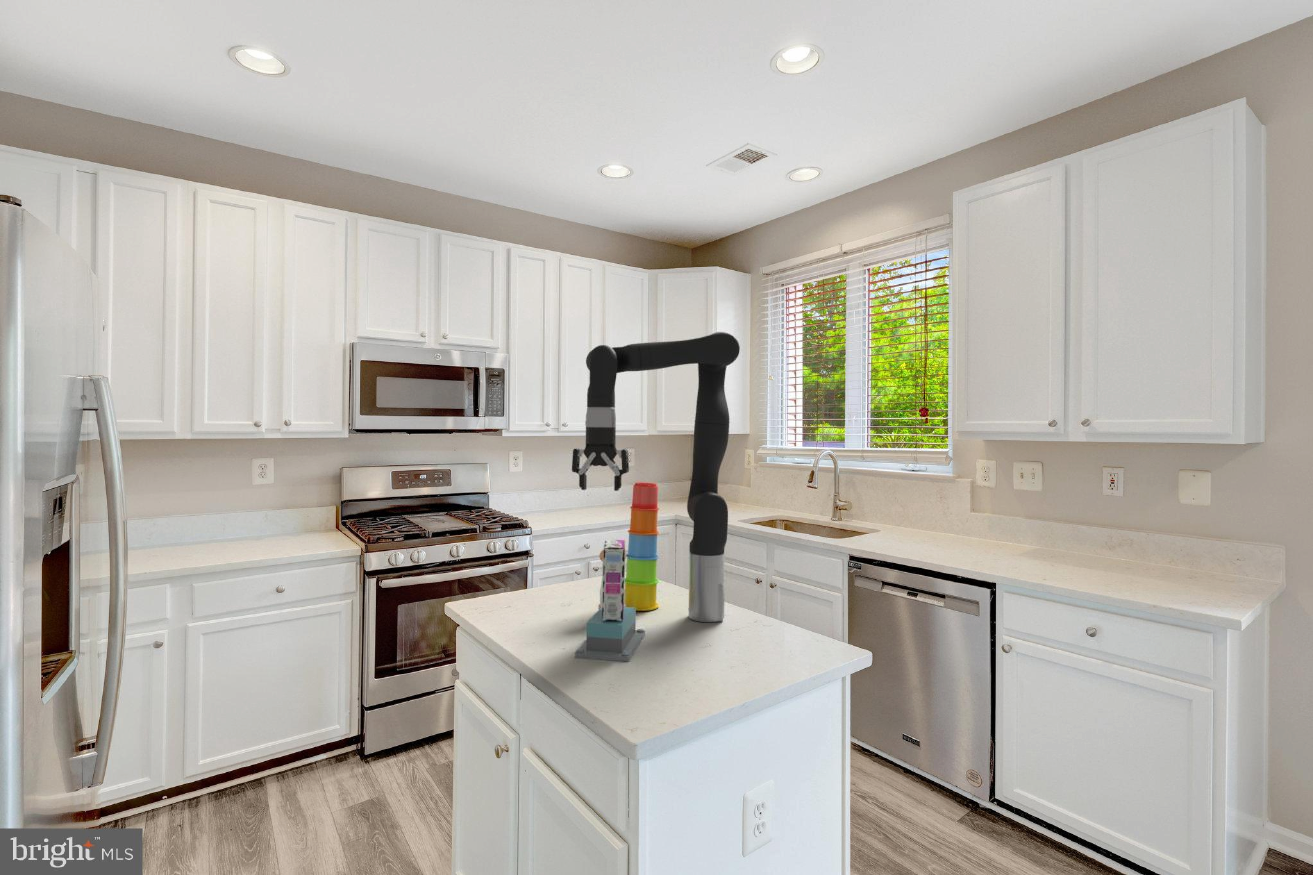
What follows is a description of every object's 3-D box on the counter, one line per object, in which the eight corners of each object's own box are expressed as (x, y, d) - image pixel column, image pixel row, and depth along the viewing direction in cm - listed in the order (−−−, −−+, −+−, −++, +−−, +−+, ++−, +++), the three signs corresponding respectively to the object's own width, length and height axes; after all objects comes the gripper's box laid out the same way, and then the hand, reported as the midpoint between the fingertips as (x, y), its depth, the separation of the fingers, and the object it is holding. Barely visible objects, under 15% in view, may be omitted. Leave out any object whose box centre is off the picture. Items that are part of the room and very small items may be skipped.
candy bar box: (624, 622, 138) (625, 547, 138) (601, 622, 138) (602, 547, 137) (624, 607, 149) (625, 539, 149) (603, 607, 149) (604, 538, 149)
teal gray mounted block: (645, 634, 151) (645, 605, 151) (628, 661, 133) (629, 628, 133) (597, 631, 153) (597, 602, 153) (574, 657, 136) (575, 625, 136)
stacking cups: (620, 602, 179) (622, 481, 179) (656, 601, 181) (657, 481, 180) (622, 612, 169) (624, 484, 169) (660, 611, 170) (662, 484, 170)
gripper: (631, 426, 160) (630, 489, 160) (578, 425, 163) (577, 488, 163) (624, 426, 153) (624, 492, 153) (568, 425, 155) (568, 490, 156)
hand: (600, 490), depth 158 cm, fingers open, 8 cm apart
